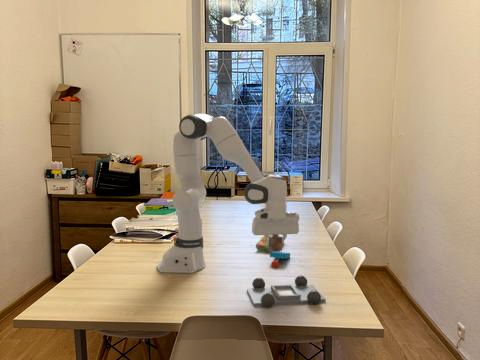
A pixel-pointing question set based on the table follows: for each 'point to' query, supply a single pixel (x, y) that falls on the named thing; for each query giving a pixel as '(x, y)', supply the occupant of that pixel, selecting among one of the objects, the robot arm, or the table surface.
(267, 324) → the table surface
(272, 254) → the lever
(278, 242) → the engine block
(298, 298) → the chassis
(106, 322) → the table surface
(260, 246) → the puzzle game
